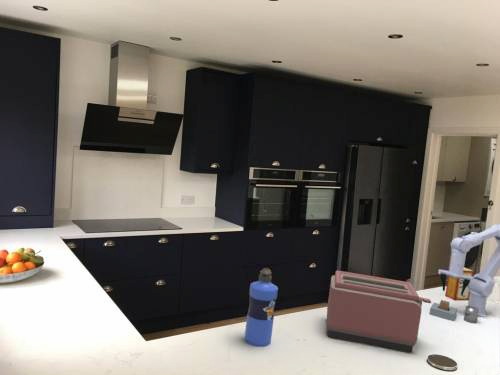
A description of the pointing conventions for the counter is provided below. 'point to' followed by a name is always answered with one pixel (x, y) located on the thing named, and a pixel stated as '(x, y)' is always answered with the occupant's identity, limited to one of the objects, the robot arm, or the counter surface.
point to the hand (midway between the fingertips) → (452, 292)
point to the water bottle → (261, 310)
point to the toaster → (374, 311)
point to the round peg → (471, 314)
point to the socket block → (443, 312)
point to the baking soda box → (458, 286)
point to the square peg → (444, 305)
